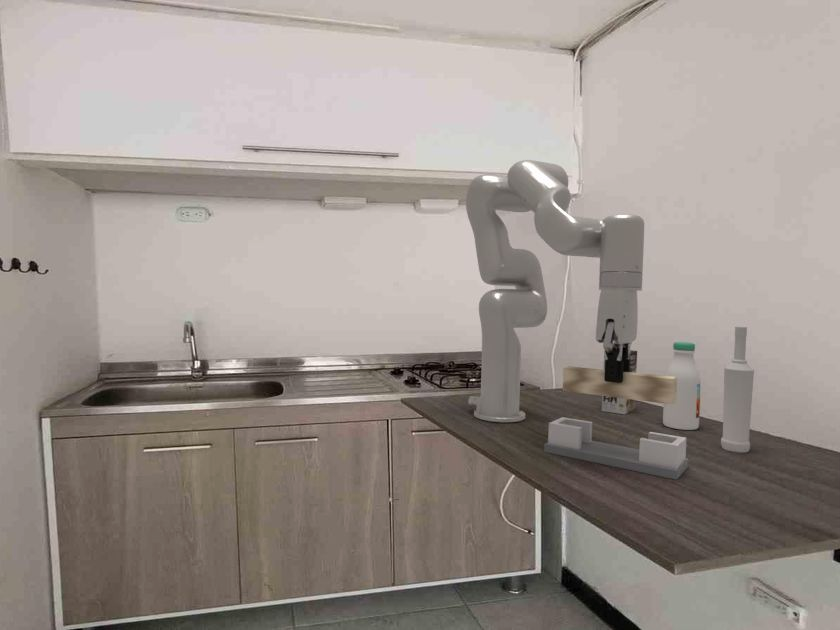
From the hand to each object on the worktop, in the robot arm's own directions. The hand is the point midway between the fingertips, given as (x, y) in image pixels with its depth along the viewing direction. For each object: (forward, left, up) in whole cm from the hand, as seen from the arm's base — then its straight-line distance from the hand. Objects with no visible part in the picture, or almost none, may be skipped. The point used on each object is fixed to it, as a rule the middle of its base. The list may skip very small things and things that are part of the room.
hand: (616, 379), depth 102 cm
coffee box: (-13, +45, -15) cm, 49 cm away
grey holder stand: (0, 0, -15) cm, 15 cm away
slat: (0, 0, -3) cm, 3 cm away
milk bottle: (+4, +37, -15) cm, 40 cm away
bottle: (+17, +24, -15) cm, 33 cm away
